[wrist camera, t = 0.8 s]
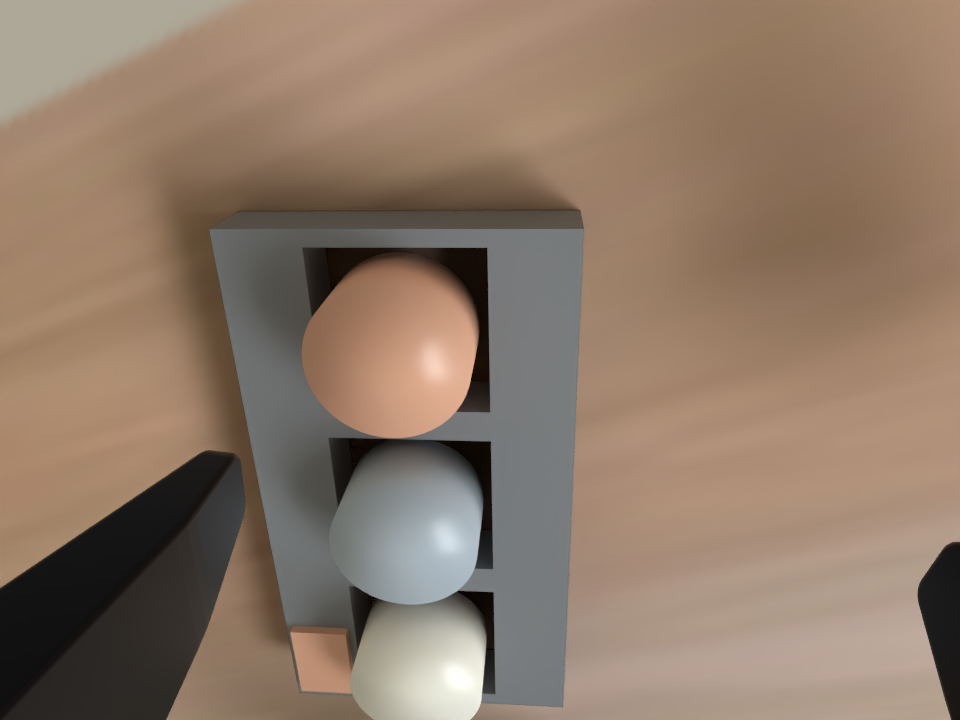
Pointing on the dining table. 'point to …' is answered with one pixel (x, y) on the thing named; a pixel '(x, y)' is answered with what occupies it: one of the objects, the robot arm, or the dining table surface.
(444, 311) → the terracotta button
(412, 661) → the cream button
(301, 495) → the button panel
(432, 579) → the slate button
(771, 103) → the dining table surface
